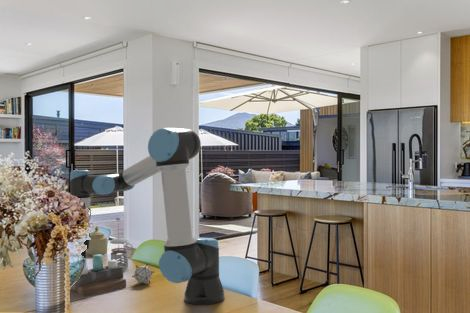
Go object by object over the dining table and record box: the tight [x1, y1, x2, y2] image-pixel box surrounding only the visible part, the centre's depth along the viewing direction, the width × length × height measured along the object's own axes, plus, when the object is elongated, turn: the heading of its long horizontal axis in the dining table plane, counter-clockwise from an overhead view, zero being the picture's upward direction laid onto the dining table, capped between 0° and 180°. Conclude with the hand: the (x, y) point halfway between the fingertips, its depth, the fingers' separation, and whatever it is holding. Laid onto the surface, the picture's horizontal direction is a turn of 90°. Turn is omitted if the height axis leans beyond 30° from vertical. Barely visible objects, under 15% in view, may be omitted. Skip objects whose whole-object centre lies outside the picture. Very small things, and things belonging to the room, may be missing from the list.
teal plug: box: [92, 254, 104, 271], centre depth 193 cm, size 4×4×6 cm
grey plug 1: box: [81, 265, 89, 275], centre depth 189 cm, size 4×4×6 cm
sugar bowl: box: [86, 226, 108, 256], centre depth 260 cm, size 15×11×15 cm
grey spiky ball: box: [131, 263, 155, 286], centre depth 198 cm, size 9×8×10 cm
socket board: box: [70, 265, 127, 297], centre depth 193 cm, size 14×19×8 cm
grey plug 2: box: [107, 259, 118, 269], centre depth 197 cm, size 4×4×6 cm
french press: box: [109, 217, 134, 273], centre depth 221 cm, size 10×12×25 cm
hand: (82, 265), depth 189 cm, fingers closed
